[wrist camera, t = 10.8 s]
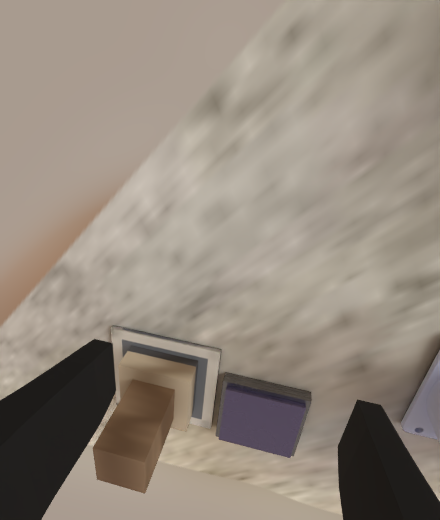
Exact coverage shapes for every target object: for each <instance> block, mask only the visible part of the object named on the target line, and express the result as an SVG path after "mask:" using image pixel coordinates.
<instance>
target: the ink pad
mask: <svg viewBox="0 0 440 520" xmlns="http://www.w3.org/2000/svg"><path fill="white" fill-rule="evenodd" d="M310 404H311V392H308V391H304V390H299V389H295V388H291V387H286V386H282V385H278V384H274V383H269V382H265V381H261V380H256V379H252V378H248V377H243V376H239V375H235V374H230V373H226V372H225V376H224V380H223V386H222V394H221V401H220V408H219V415H218V422H217V430H216V436H217V437H219V440H223V441H227V442H231V443H235V444H239V445H242V446H246V447H250V448H254V449H258V450H262V451H265V452H269V453H273V454H277V455H281V456H285V457H288V458H290V457H291V456H294V453H295V450H296V447H297V444H298V441H299V438H300V435H301V432H302V429H303V426H304V423H305V420H306V417H307V413H308V410H309V407H310Z"/></svg>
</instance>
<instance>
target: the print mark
mask: <svg viewBox="0 0 440 520" xmlns="http://www.w3.org/2000/svg"><path fill="white" fill-rule="evenodd" d="M111 340H112V343H113V354H114V368H115V382H116V392H115V393H116V405H118V404H119V402H120V385H119V369H118V365H119V363H120V362H121V360H122V359H123V357H124V356H125V354H126V353H127V351H128V350H129V348H130V347H131V345H133V346H137V347H141V348H146V349H150V350H154V351H159V352H163V353H167V354H172V355H176V356H180V357H185V358H189V359H193V360H198V370H197V381H196V392H195V404H194V410H193V413H192V416H191V419H190V422H189V423H190V424H194V425H197V426H201V427H205V428H209V429H211V426H212V419H213V411H214V403H215V396H216V388H217V380H218V372H219V364H220V356H221V349H216V348H212V347H207V346H203V345H198V344H194V343H189V342H185V341H180V340H176V339H171V338H167V337H162V336H158V335H153V334H149V333H144V332H140V331H135V330H131V329H126V328H122V327H117V326H112V327H111Z"/></svg>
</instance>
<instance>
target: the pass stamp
mask: <svg viewBox="0 0 440 520" xmlns="http://www.w3.org/2000/svg"><path fill="white" fill-rule="evenodd" d="M118 369H119V385H120V402H119V404H118V405H117V407H116V409H115V411H114V412H113V414H112V416H111V417H110V419H109V421H108V423H107V424H106V426H105V428H104V430H103V431H102V433H101V435H100V436H99V438H98V440H97V442H96V443H95V445H94V447H93V453H94V460H95V468H96V475H97V479H98V480H101V481H104V482H108V483H111V484H115V485H118V486H122V487H125V488H128V489H131V490H135V491H139V492H142V493H145V492H146V490H147V487H148V484H149V482H150V479H151V477H152V474H153V471H154V469H155V466H156V464H157V461H158V458H159V456H160V453H161V450H162V448H163V445H164V443H165V440H166V437H167V435H168V432H169V430H170V428H174V429H178V430H181V431H185V432H186V431H187V428H188V425H189V422H190V419H191V416H192V413H193V410H194V404H195V392H196V381H197V370H198V360H193V359H189V358H185V357H180V356H176V355H172V354H167V353H163V352H159V351H154V350H150V349H146V348H141V347H137V346H133V345H131V347H130V348H129V350H128V351H127V353H126V354H125V356H124V357H123V359H122V360H121V362H120V363H119V365H118Z"/></svg>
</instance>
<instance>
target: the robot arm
mask: <svg viewBox="0 0 440 520" xmlns="http://www.w3.org/2000/svg"><path fill="white" fill-rule="evenodd" d="M115 392H116V382H115V368H114V354H113V343H109V342H105V341H100V340H96V339H94V340H92V341H91V342H89V343H88V344H86V345H85V346H83V347H82V348H80V349H79V350H77V351H76V352H74V353H73V354H71V355H70V356H68V357H67V358H65V359H64V360H62V361H61V362H59V363H58V364H56V365H55V366H53V367H52V368H51V369H49V370H48V371H46V372H44V373H43V374H41V375H40V376H38V377H37V378H35V379H34V380H32V381H31V382H29V383H28V384H26V385H25V386H23V387H21V388H20V389H18V390H17V391H15V392H13V393H12V394H10V395H9V396H7V397H5V398H4V399H2V400H0V520H41V519H42V517H43V515H44V514H45V512H46V510H47V508H48V507H49V505H50V504H51V502H52V500H53V498H54V497H55V495H56V494H57V492H58V490H59V489H60V487H61V486H62V484H63V482H64V481H65V479H66V478H67V476H68V475H69V473H70V471H71V470H72V468H73V467H74V465H75V463H76V462H77V460H78V459H79V457H80V455H81V454H82V452H83V451H84V449H85V448H86V446H87V444H88V443H89V441H90V439H91V438H92V436H93V435H94V433H95V431H96V430H97V428H98V426H99V425H100V423H101V421H102V419H103V417H104V415H105V413H106V411H107V409H108V407H109V405H110V403H111V401H112V398H113V396H114V394H115ZM401 426H402V428H403V430H404V431H405V432H408V433H412V434H416V435H420V436H424V437H428V438H433V439H437V440H438V441H439V444H440V350H439V352H438V354H437V356H436V358H435V359H434V361H433V363H432V365H431V367H430V369H429V371H428V373H427V374H426V376H425V378H424V380H423V382H422V384H421V386H420V388H419V389H418V391H417V393H416V395H415V397H414V399H413V401H412V403H411V405H410V406H409V408H408V410H407V412H406V414H405V416H404V418H403V420H402V421H401ZM338 473H339V491H340V499H341V506H342V514H343V520H440V501H439V500H438V498H437V497H436V495H435V494H434V492H433V490H432V489H431V487H430V486H429V484H428V483H427V481H426V479H425V478H424V476H423V475H422V473H421V471H420V470H419V468H418V467H417V465H416V463H415V462H414V460H413V458H412V457H411V455H410V453H409V452H408V450H407V448H406V447H405V445H404V443H403V442H402V440H401V438H400V437H399V435H398V433H397V431H396V430H395V428H394V426H393V425H392V423H391V421H390V419H389V418H388V416H387V414H386V413H385V411H384V409H383V408H382V406H381V405H378V404H374V403H369V402H365V401H361V400H357V402H356V404H355V407H354V409H353V411H352V414H351V416H350V419H349V421H348V423H347V426H346V428H345V431H344V433H343V435H342V438H341V440H340V443H339V445H338Z"/></svg>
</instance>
